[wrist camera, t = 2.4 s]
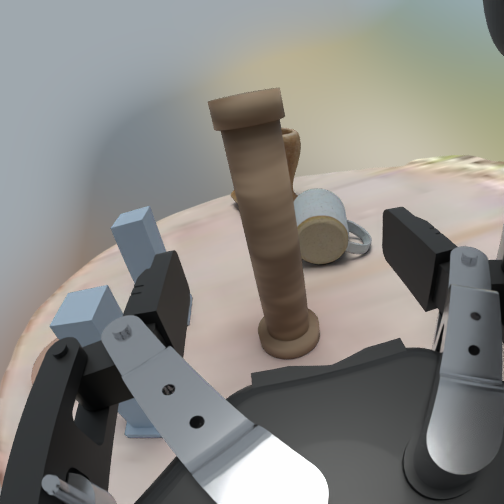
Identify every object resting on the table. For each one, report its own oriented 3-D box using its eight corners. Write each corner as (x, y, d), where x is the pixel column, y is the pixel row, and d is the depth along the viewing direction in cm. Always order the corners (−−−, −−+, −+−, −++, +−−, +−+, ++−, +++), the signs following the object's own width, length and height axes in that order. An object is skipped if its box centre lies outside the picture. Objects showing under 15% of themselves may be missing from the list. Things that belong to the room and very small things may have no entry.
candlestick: (331, 329, 29) (304, 84, 18) (293, 368, 26) (241, 95, 15) (286, 308, 33) (245, 92, 22) (248, 341, 30) (183, 107, 19)
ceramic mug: (294, 271, 39) (286, 215, 35) (294, 239, 46) (287, 190, 42) (377, 263, 37) (378, 207, 33) (364, 232, 44) (363, 183, 40)
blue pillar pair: (180, 436, 22) (98, 327, 15) (127, 437, 22) (37, 335, 15) (192, 297, 38) (157, 201, 32) (155, 304, 38) (116, 212, 32)
